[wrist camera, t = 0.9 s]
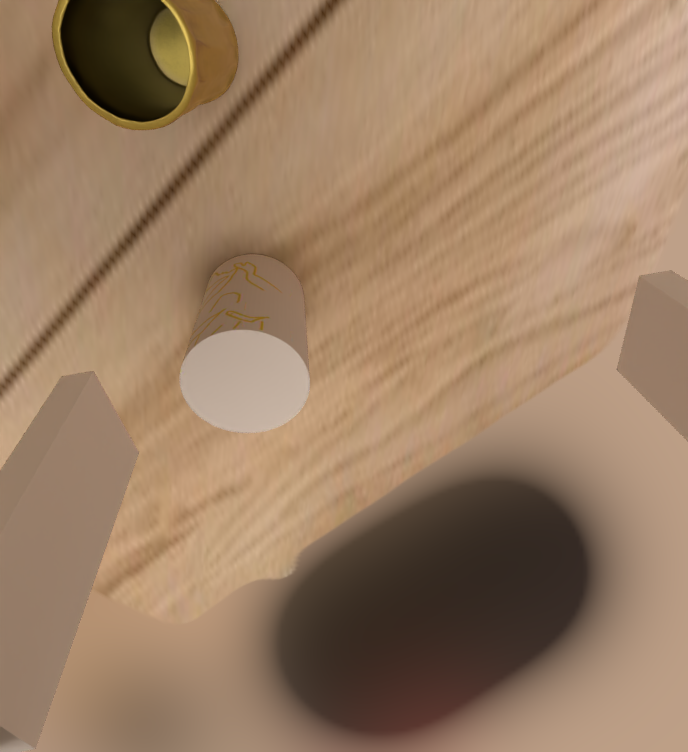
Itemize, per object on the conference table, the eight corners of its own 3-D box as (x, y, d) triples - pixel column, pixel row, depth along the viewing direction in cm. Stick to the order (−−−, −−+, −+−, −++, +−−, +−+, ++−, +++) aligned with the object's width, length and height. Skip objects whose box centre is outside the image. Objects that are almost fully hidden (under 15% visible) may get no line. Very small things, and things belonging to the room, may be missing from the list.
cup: (269, 235, 37) (262, 306, 27) (322, 314, 42) (332, 399, 32) (185, 285, 39) (151, 369, 29) (244, 356, 43) (232, 449, 34)
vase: (115, 12, 29) (-2, -3, 17) (206, -36, 28) (149, -86, 16) (173, 119, 32) (108, 167, 20) (255, 79, 31) (237, 106, 20)
